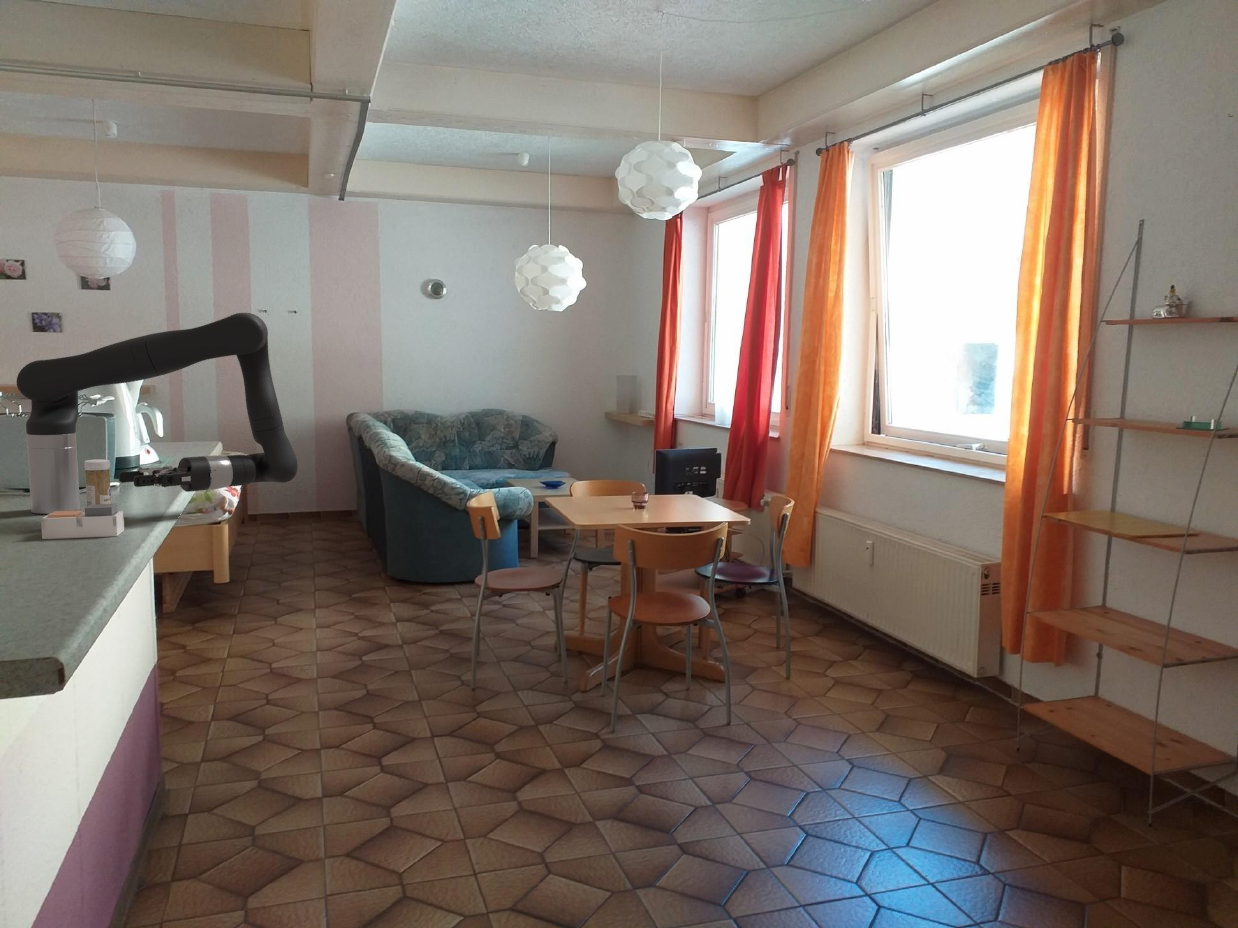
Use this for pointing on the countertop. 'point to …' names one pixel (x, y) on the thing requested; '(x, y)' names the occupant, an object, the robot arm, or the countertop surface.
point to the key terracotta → (64, 514)
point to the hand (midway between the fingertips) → (126, 479)
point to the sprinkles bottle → (97, 481)
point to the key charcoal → (101, 510)
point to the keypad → (82, 526)
